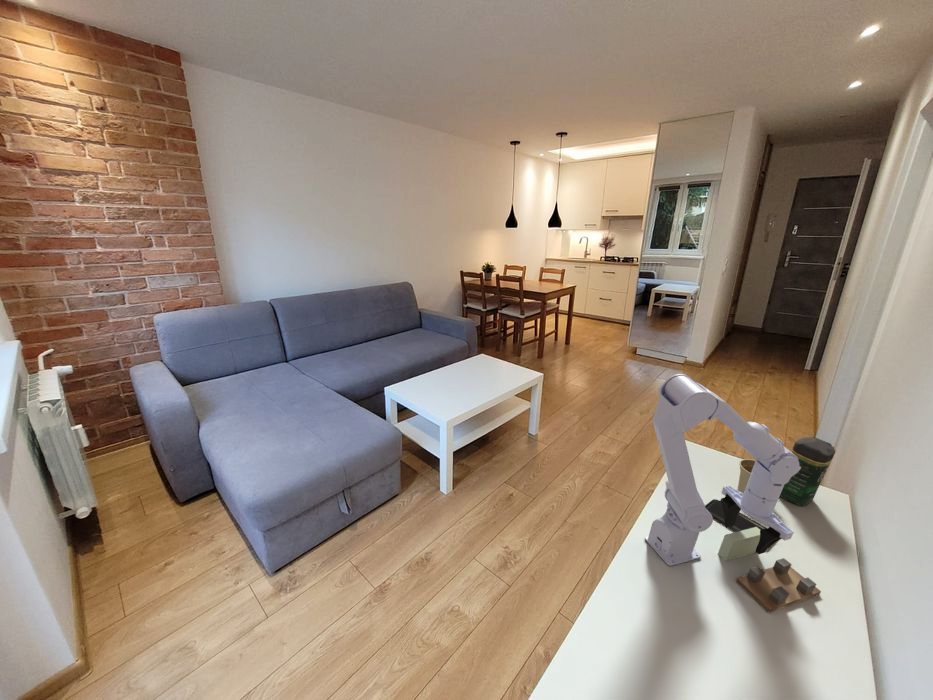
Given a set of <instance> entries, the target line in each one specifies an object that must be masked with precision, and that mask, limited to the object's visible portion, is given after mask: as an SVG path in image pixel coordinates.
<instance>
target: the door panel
mask: <svg viewBox="0 0 933 700" xmlns="http://www.w3.org/2000/svg"><path fill="white" fill-rule="evenodd" d="M759 540H760V529H759V528H757V527H754V528H750V529H746V530H742V531H738V532H734V531H733V532H732V533H731V532H730V533H728V534H727V533H726V534H725V535H724V536H723V539H722V540H721V545H720V547H719V549H718V552H717V556H719V557H720V558H721V559H723V561H724V562H728V561H731V560H734V559H735V560H736V559H738V558H741V557H745V556H749V555H752V554H756V548H757V545H758V543H759Z"/></svg>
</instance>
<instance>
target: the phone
mask: <svg viewBox="0 0 933 700" xmlns="http://www.w3.org/2000/svg"><path fill="white" fill-rule="evenodd" d="M720 501H721V500H719V499H716V498H713V499H712V500H709V502H708V503H706V504H705V508H706V509H707V510H708V511H709V512H710V513H711V515H712V517H713V520H715V521H717V522H719V523H720V524H721V525H723V526H724V511H723V507H722V504H721V502H720ZM754 527H757V528H759V529H760V530H762V529H766V528H767V527H766V526H764V525H762V524H760V523H759V522H758V521H756V520H754V519H752V518H750V517H749V516H747V515H745V514H743V513H741V512H739V514H738V516H737V519H736V521H735V524H734V525H733V526H731V527H728V529H730V530H731V531H733V533H734V532H738V531H742V530H746V529H750V528H754Z"/></svg>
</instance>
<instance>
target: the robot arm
mask: <svg viewBox="0 0 933 700" xmlns="http://www.w3.org/2000/svg"><path fill="white" fill-rule="evenodd" d="M715 419H718V421H720V422H722V424H724V425H725V426H726V427H728V428H729V429H730V430H731V431H733V433H732V434H733V437H732V438H733V440H734V442H736V444H738V445H739V446H740V447H742V448H743V449H744V450H745V451H746V452H747V453H748V454H749V455H750V456H752V458H754V460H755V459H756V461H755V464H754V467H753V469H752V472H751V475H750V478H749V480H748V483H747V486H746V488H745V491H744V494H743V493H742V492H740V491H739V490H738V489H736V488H734V487H733V486H731V485H726V486H722V490H721V494H722V495H723V496H724V497H721V498H720V500H719V501H720V502H721V504H722V507H723V511H724V525H723V526H725V528H728V527H731V526H733V525H734V524H735V521H736V519H737V516H738V514H739V512H740V511H742V512H744V513H745V514H747V515H748V517H752V518H754V519H755V520H757V521H759V522H761V523H762V524H765V525H766V526H768V528H767V527H766V529H762V530H760V540H759V543H758V545H757V548H756V553H757V555H761V554H765V553H766V552H767V550H768V549H770V548H771V546H772V545H774V544H775V543H776V542H779V541H780V540H783V541H788V540H791V539H792V537H793V535H794V533H795V532H794V531H793V530H792V529H791V528H790V527H788V526H787V525H786V524H785V523H784V521H782V520H781V519H780V518H779V516H777V515H776V513H774V511H775V508H776V505H777V503H778V502H779V498H780V497H781V496H780V494H781V491H782V489H783V487H784V484H786V483H787V482H789V480H790V478H791V477H792V476H793V475H795V474H796V473H797V472H798V471H799V470H800V469H801V467H799V461H798V460H799V459H798V457H797V456H796V455H795V454H793V453H792V452H791V451H792V450H789V449H788V448H787V447H785V446H784V445H785V442H784V441H783V440H781V439H780V438H778V437H775V436H773V435H772V434H771V433H770V432H771V431H772V430H771V429H770V428H769V427H768V426H766V425H765V424H764V423H762V424H760V423H758V422H754V421H746V419H744V418H743V417H742V416H741V415H740V414H739V413H738V412H737V411H736V410H735V409H734V408H733V407H731V405H729V404H728V402H727V401H726V400H724V399H722V398H721V397H720V396H719V395H717V394H716V393H715V392H713V391H711V390H710V389H708V388H707V387H706V386H704V385H702V384H701V383H699V382H697V381H694V380H693V378H691V377H690V376H689V375H687V374H685V373H676V374H673V375H670V377H668V378H667V379H666V380H665V381H664V382H663V383H662V384H661V385H660V386H659V388H658V401H657V404H656V407H655V411H654V415H653V417H652V424H653V427H654V428H653V429H654V432H655V435H656V439H657V443H658V447H659V451H660V453H661V458H662V462H663V466H664V469H665V473H666V478H667V480H666V481H665V487H666V488H665V491H664V498H665V500H666V501H667V504H666V507H667V508H666V511H665V513H664V514H663V515H662V516H661V517H659V518H657V519H655V520H653V521H652V524H651V526H650V529H649V534H648V535H647V536H644V540H645V541H646V542H647V544H649V546H650V547H651V548H652V549H653V550H654V551H655V552H656V554H658V556H659V557H660V558H661V559H662V560H663V561H664V562H665V564H666V565H667V566H669V567H672V566H676V565H680V564H683V563H686V562H687V563H688V562H690V561H694V560H697V559H701V557H702V555H701V554H700V553H699V552H698V551H697V550H696V549H695V547H696V544H697V541H698V537H699V535H700V533H702V532H704V531H706V530H708V529H709V528H710V527H711V526H712V525H713V522H714V518H713V517H712V515H711V513H710V512H709V511H708V510H707V509H706V508H705V505H706V504H705V502H704V500H703V498H702V497H701V495H700V493H699V491H698V489H697V483H696V480H695V476H694V472H693V467H692V463H691V459H690V455H689V451H688V447H687V443H686V438H685V434H684V433H686V432H688V431H690V430H691V429H693V428H694V427H696V426H698V425H699V424H701V423H702V422H704V421H706V420H709V421H713V420H715ZM740 513H741V512H740ZM728 529H729V528H728ZM756 553H755V554H756Z"/></svg>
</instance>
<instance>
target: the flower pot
mask: <svg viewBox="0 0 933 700" xmlns="http://www.w3.org/2000/svg"><path fill="white" fill-rule="evenodd" d="M756 460H757V459H756ZM756 460H755V459H751V458H745V459H744V458H743V459H741V460H740V461H739V462H738V463H739V469H740V470H739V471H740V472H739V479H738V484H737V490H738V491H740V492H742V493H743V494H744V491H745V488H746V486H747V483H748V480H749V478H750V475H751V472H752V469H753V467H754V464H755V461H756Z"/></svg>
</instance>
